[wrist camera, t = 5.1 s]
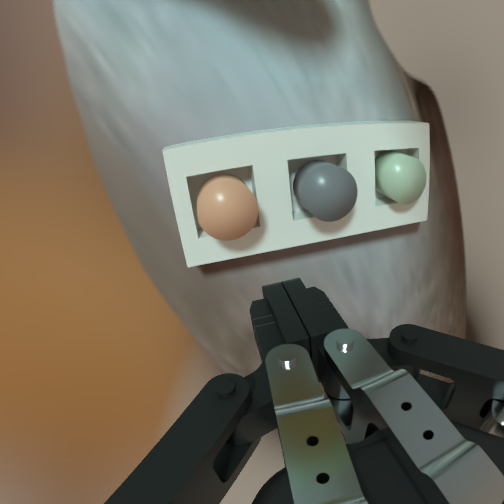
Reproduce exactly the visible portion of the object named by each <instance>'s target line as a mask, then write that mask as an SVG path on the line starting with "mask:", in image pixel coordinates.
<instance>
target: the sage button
mask: <svg viewBox="0 0 504 504" xmlns="http://www.w3.org/2000/svg"><path fill="white" fill-rule="evenodd" d="M425 185H426V170H425V168H424V165H423V164H422V162H421V161H420V160H418V159H417V158H415V157H412V156H409V155H405V154H402V153H399V152H395V151H385V152H383V153H381V154H380V155H378V156H377V158H376V159H375V189H376V190H377V191H378V192H379V193H381V194H383V195H385V196H387V197H389V198H391V199H393V200H394V201H396V202H398V203H400V204H410V203H413V202H415V201H416V200H417V199H418V198H419V197H420V196H421V194H422V193H423V191H424V189H425Z"/></svg>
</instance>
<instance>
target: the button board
mask: <svg viewBox="0 0 504 504" xmlns="http://www.w3.org/2000/svg"><path fill="white" fill-rule="evenodd" d="M162 151H163V156H164V161H165V166H166V171H167V176H168V181H169V186H170V191H171V196H172V201H173V205H174V210H175V214H176V219H177V223H178V228H179V232H180V237H181V241H182V245H183V249H184V254H185V258H186V262H187V266H188V267H192V266H198V265H203V264H208V263H213V262H218V261H223V260H228V259H233V258H239V257H244V256H249V255H254V254H259V253H264V252H269V251H274V250H279V249H285V248H290V247H295V246H300V245H305V244H310V243H315V242H320V241H325V240H330V239H335V238H340V237H345V236H350V235H356V234H361V233H366V232H371V231H376V230H381V229H386V228H391V227H396V226H401V225H406V224H411V223H416V222H421V221H426V220H427V213H428V198H429V172H430V133H429V123H425V122H418V121H412V120H393V121H359V122H340V123H326V124H313V125H302V126H292V127H283V128H274V129H266V130H258V131H251V132H244V133H237V134H230V135H224V136H218V137H212V138H206V139H201V140H195V141H190V142H185V143H180V144H175V145H170V146H166V147H165V148H164V149H163V150H162ZM385 151H395V152H399V153H402V154H405V155H409V156H412V157H415V158H417V159H418V160H420V161H421V162H422V164H423V165H424V168H425V170H426V185H425V189H424V191H423V193H422V194H421V196H420V197H419V198H418V199H417V200H416V201H415V202H413V203H410V204H400V203H398V202H396V201H394V200H393V199H391V198H389V197H387V196H385V195H383V194H381V193H379V192H378V191H377V190H376V189H375V159H376V158H377V156H378V155H380V154H381V153H383V152H385ZM312 160H324V161H327V162H330V163H332V164H334V165H337V166H339V167H341V168H343V169H345V170H347V171H348V172H350V173H351V175H352V176H353V177H354V179H355V181H356V184H357V190H358V193H357V199H356V203H355V205H354V207H353V208H352V210H351V211H350V212H349V213H348V214H347V215H346V216H345V217H343V218H342V219H340V220H337V221H333V222H325V221H321V220H319V219H317V218H316V217H314V216H313V215H312V214H311V213H310V212H309V211H308V210H307V209H305V208H304V207H303V206H302V205H301V204H300V203H299V202H298V201H297V199H296V198H295V195H294V192H293V180H294V177H295V175H296V173H297V171H298V170H299V169H300V167H302V166H303V165H304V164H305V163H307V162H309V161H312ZM218 174H231V175H234V176H237V177H238V178H240V179H241V180H243V181H244V183H245V184H246V185H247V186H248V188H249V189H250V191H251V192H252V193H253V195H254V196H255V198H256V201H257V204H258V217H257V220H256V223H255V225H254V226H253V228H252V229H251V230H250V231H249V232H248V233H247V234H246V235H244V236H243V237H241V238H238V239H235V240H230V241H223V240H218V239H215V238H213V237H211V236H210V235H208V234H207V233H206V232H205V231H204V230H203V229H202V227H201V226H200V223H199V221H198V216H197V194H198V191H199V189H200V187H201V186H202V184H203V183H204V182H205V181H206V180H207V179H209V178H210V177H212V176H215V175H218Z"/></svg>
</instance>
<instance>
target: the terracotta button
mask: <svg viewBox="0 0 504 504" xmlns="http://www.w3.org/2000/svg"><path fill="white" fill-rule="evenodd" d="M197 216H198V221H199V223H200V226H201V227H202V229H203V230H204V231H205V232H206V233H207V234H208V235H210V236H211V237H213V238H215V239H218V240H223V241H230V240H235V239H238V238H241V237H243V236H244V235H246V234H247V233H248V232H249V231H250V230H251V229H252V228H253V226H254V225H255V223H256V220H257V217H258V204H257V201H256V198H255V196H254V195H253V193H252V192H251V191H250V189H249V188H248V186H247V185H246V184H245V183H244V181H243V180H241V179H240V178H238V177H237V176H234V175H231V174H218V175H215V176H212V177H210V178H209V179H207V180H206V181H205V182H204V183H203V184H202V186H201V187H200V189H199V191H198V194H197Z"/></svg>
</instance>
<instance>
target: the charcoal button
mask: <svg viewBox="0 0 504 504" xmlns="http://www.w3.org/2000/svg"><path fill="white" fill-rule="evenodd" d="M293 192H294V195H295V198H296V199H297V201H298V202H299V203H300V204H301V205H302V206H303V207H304V208H305V209H307V210H308V211H309V212H310V213H311V214H312V215H313V216H314V217H316V218H317V219H319V220H321V221H325V222H333V221H337V220H340V219H342V218H343V217H345V216H346V215H347V214H348V213H349V212H350V211H351V210H352V208H353V207H354V205H355V203H356V199H357V193H358V190H357V184H356V181H355V179H354V177H353V176H352V175H351V173H350V172H348V171H347V170H345V169H343V168H341V167H339V166H337V165H334V164H332V163H330V162H327V161H324V160H312V161H309V162H307V163H305V164H304V165H303V166H302V167H300V169H299V170H298V171H297V173H296V175H295V177H294V180H293Z"/></svg>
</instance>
